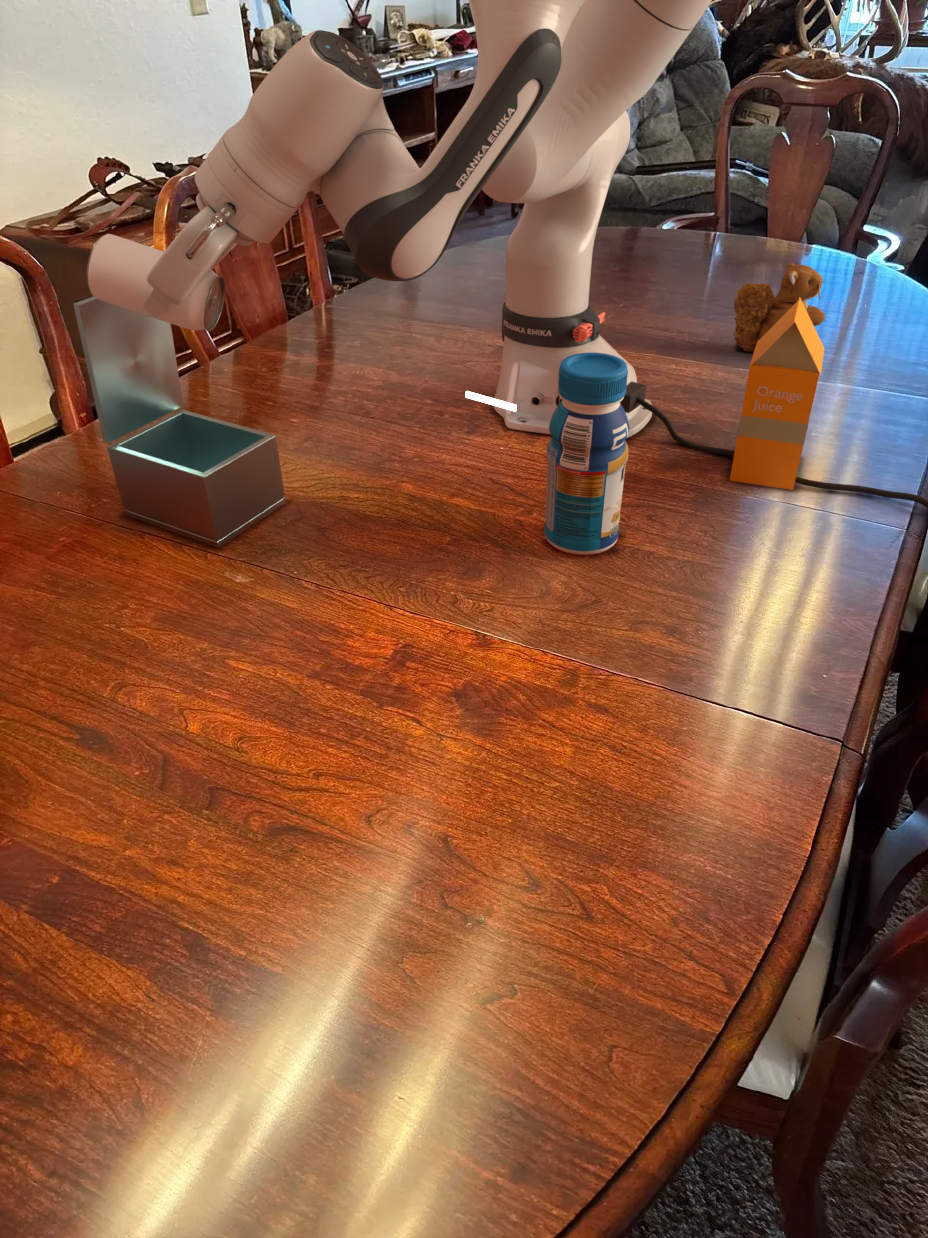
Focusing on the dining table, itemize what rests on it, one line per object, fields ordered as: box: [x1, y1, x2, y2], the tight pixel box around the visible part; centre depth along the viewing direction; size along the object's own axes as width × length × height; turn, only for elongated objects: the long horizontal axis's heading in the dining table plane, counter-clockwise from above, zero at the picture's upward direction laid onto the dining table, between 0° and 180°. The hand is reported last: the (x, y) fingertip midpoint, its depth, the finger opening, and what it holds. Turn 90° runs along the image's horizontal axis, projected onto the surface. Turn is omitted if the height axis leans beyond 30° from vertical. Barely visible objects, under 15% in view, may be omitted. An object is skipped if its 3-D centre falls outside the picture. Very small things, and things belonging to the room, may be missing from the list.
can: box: [86, 233, 227, 332], centre depth 93 cm, size 6×6×12 cm
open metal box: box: [106, 409, 287, 549], centre depth 106 cm, size 15×12×9 cm
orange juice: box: [729, 298, 826, 491], centre depth 109 cm, size 8×9×20 cm
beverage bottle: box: [544, 353, 629, 556], centre depth 96 cm, size 8×8×20 cm
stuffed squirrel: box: [733, 262, 826, 353], centre depth 143 cm, size 10×14×13 cm
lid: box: [72, 294, 184, 444], centre depth 102 cm, size 16×12×5 cm
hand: (163, 298), depth 93 cm, fingers closed on can, 6 cm apart
